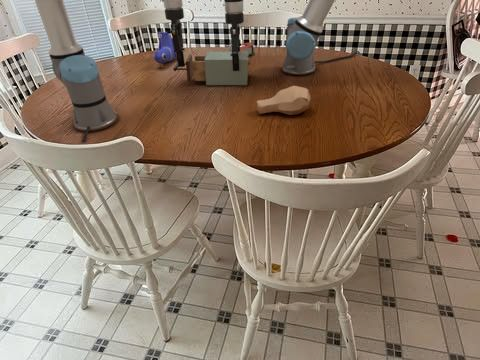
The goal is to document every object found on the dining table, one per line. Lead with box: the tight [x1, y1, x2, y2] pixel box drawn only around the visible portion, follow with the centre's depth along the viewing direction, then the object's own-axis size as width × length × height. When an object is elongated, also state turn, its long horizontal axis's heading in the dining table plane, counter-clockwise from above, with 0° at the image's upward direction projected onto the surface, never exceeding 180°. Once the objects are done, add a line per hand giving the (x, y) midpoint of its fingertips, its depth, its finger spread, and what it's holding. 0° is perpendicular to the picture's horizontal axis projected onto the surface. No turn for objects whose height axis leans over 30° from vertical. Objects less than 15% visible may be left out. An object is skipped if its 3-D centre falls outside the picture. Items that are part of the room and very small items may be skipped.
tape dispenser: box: [228, 42, 255, 63], centre depth 185 cm, size 18×5×20 cm
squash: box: [255, 85, 312, 116], centre depth 130 cm, size 11×20×9 cm, turn 92°
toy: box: [152, 31, 177, 69], centre depth 182 cm, size 10×17×25 cm
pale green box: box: [205, 51, 249, 86], centre depth 157 cm, size 18×11×11 cm, turn 88°
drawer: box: [172, 54, 206, 83], centre depth 158 cm, size 23×10×9 cm, turn 88°
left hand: (181, 66), depth 157 cm, fingers closed
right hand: (236, 66), depth 157 cm, fingers closed on pale green box, 11 cm apart
